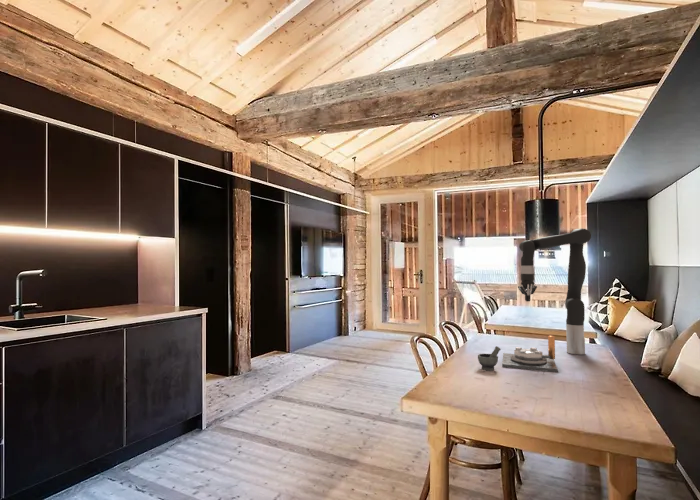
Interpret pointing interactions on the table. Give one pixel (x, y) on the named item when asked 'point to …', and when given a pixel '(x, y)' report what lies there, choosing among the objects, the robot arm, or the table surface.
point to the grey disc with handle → (536, 352)
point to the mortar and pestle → (489, 359)
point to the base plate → (531, 367)
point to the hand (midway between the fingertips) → (527, 301)
